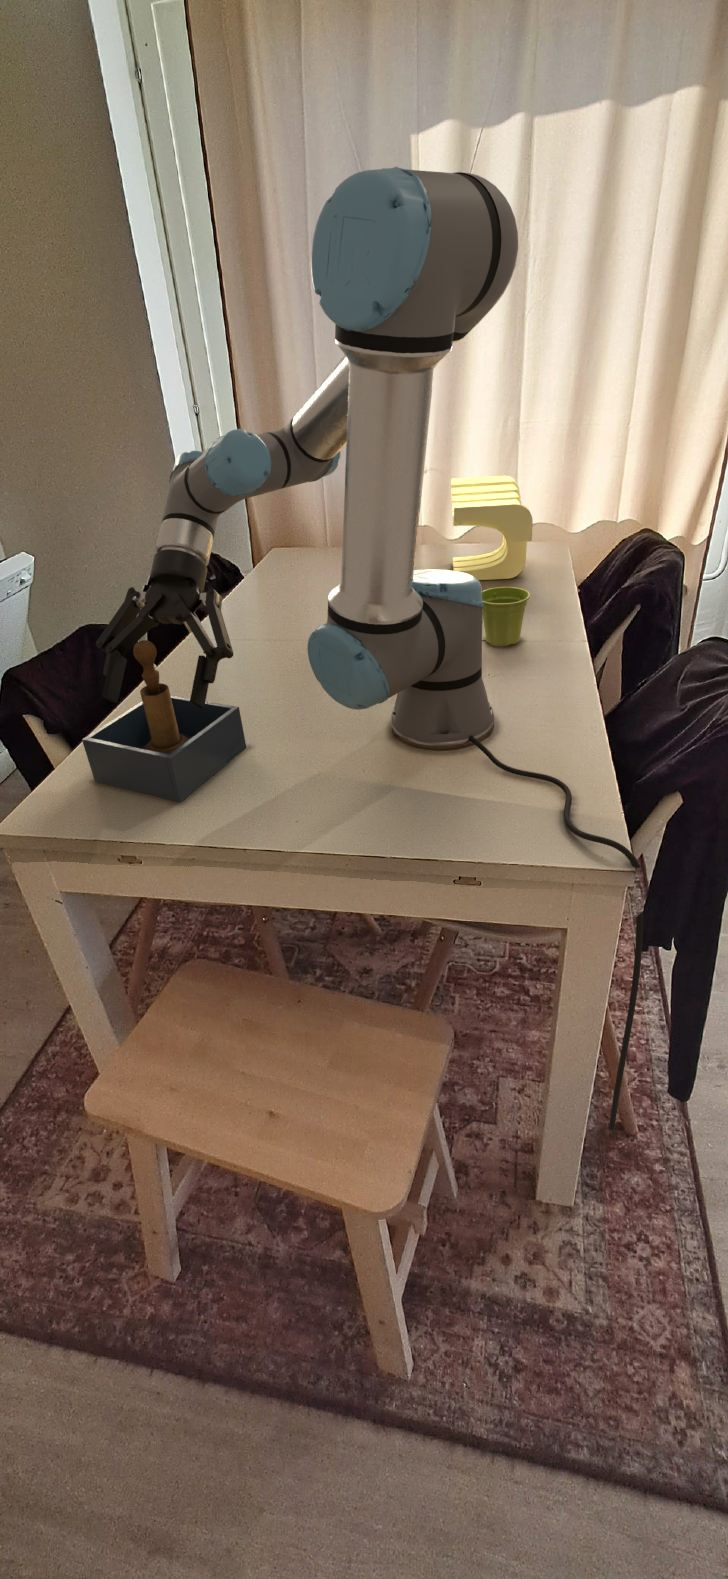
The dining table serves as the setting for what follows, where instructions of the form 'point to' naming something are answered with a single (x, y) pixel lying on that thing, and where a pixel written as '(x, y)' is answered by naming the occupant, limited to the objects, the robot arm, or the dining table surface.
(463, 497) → the slatted curved stool
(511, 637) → the plant pot
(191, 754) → the tub
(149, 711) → the mortar and pestle
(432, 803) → the dining table surface
